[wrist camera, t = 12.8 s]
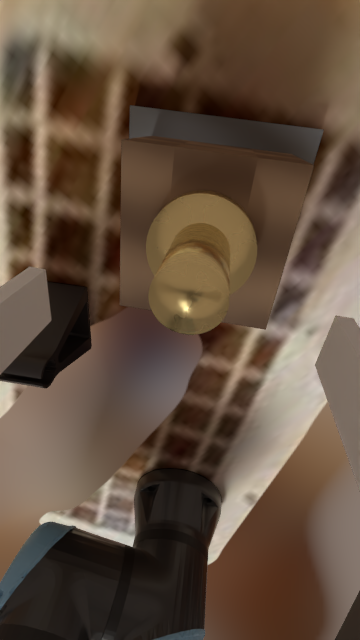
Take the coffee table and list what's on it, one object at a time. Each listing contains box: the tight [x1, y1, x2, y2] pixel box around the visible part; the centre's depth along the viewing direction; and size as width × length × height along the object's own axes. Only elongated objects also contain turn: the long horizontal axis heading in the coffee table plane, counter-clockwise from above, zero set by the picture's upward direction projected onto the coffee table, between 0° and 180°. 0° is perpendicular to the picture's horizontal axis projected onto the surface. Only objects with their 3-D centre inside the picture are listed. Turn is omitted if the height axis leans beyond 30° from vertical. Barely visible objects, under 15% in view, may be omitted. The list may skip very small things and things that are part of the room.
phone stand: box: [0, 282, 91, 388], centre depth 36 cm, size 9×6×12 cm, turn 175°
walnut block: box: [120, 105, 323, 329], centre depth 28 cm, size 16×16×10 cm
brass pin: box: [146, 190, 257, 335], centre depth 23 cm, size 8×8×16 cm
